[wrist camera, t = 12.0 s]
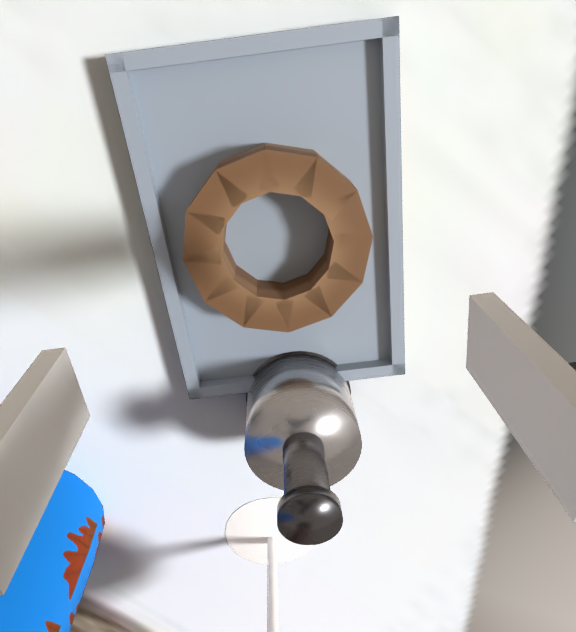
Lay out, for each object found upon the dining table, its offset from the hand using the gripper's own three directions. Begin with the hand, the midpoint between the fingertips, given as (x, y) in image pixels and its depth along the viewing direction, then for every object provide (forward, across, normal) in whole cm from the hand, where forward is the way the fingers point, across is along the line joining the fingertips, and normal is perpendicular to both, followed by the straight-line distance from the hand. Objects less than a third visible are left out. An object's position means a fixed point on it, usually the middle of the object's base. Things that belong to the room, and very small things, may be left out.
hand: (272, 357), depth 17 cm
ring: (+14, +1, 0) cm, 14 cm away
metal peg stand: (+14, +1, -11) cm, 18 cm away
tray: (+15, +1, 0) cm, 15 cm away
